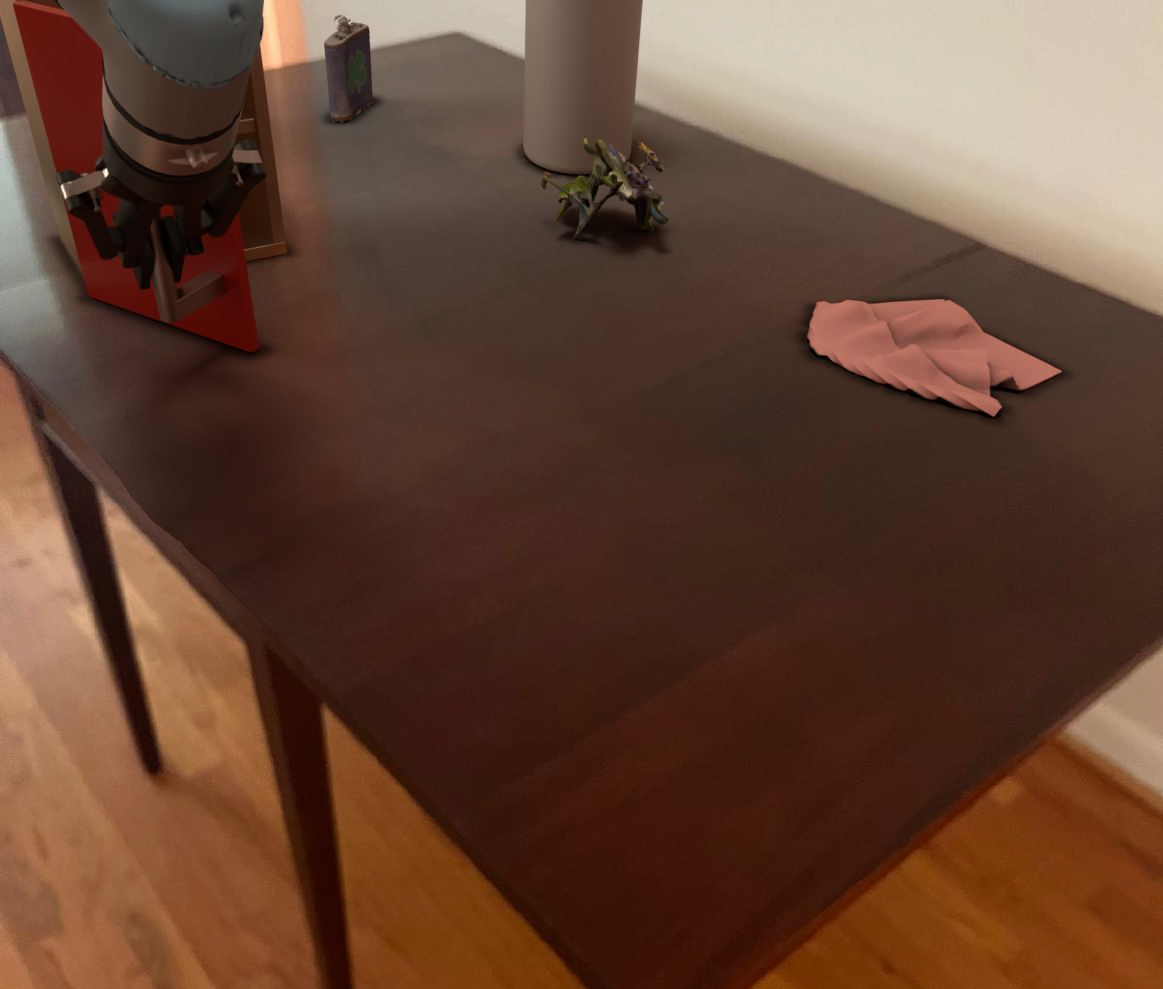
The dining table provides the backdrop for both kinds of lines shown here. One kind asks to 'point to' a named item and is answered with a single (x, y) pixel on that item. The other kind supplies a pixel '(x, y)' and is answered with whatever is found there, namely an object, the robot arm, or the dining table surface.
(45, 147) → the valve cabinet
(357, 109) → the flask
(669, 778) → the dining table surface
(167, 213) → the valve door
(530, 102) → the cylinder vase
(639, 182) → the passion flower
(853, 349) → the cloth
